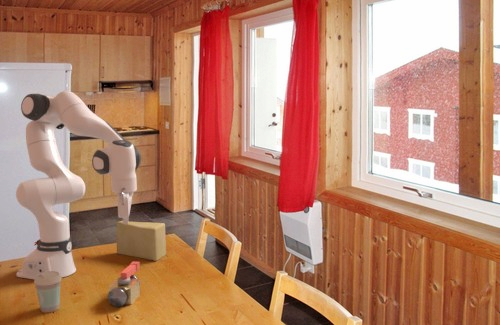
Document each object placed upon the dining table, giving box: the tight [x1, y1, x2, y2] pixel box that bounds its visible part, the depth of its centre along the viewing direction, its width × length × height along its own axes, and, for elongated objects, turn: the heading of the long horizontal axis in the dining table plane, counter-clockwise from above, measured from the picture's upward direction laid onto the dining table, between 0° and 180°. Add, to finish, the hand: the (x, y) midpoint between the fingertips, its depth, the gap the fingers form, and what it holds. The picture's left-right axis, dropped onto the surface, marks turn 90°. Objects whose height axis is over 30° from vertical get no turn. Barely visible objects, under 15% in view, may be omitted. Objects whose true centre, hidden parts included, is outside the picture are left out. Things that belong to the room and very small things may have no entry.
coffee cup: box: [33, 271, 63, 314], centre depth 168 cm, size 9×8×12 cm
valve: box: [107, 274, 141, 308], centre depth 175 cm, size 8×13×6 cm, turn 171°
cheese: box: [115, 220, 167, 262], centre depth 220 cm, size 22×10×15 cm, turn 72°
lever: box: [116, 261, 141, 285], centre depth 179 cm, size 13×4×4 cm, turn 169°
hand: (125, 223), depth 181 cm, fingers closed
